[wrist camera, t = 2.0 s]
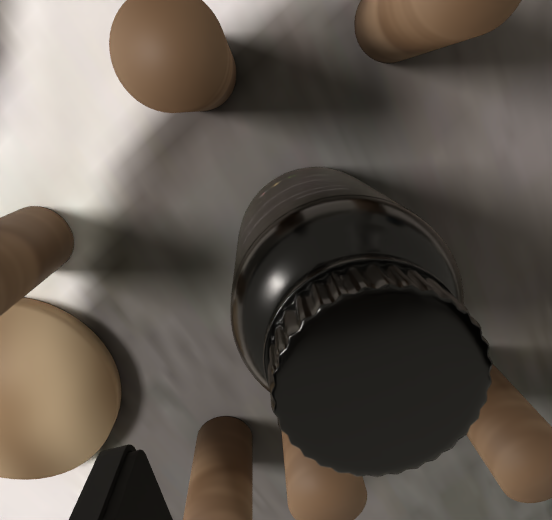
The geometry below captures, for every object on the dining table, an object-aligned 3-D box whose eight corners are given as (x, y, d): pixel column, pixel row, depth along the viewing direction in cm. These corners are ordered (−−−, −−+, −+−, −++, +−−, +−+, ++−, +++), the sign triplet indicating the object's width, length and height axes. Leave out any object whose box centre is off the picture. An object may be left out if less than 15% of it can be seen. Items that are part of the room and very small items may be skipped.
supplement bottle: (409, 257, 21) (589, 429, 10) (288, 328, 22) (325, 561, 11) (338, 131, 19) (463, 166, 8) (208, 215, 20) (151, 356, 9)
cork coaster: (77, 273, 21) (69, 281, 20) (148, 441, 24) (143, 454, 23) (-125, 323, 21) (-143, 333, 20) (-28, 482, 24) (-39, 497, 23)
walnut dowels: (448, -36, 17) (570, -126, 11) (489, 401, 24) (579, 512, 17) (-62, 98, 18) (-246, 92, 11) (120, 486, 25) (71, 623, 18)
